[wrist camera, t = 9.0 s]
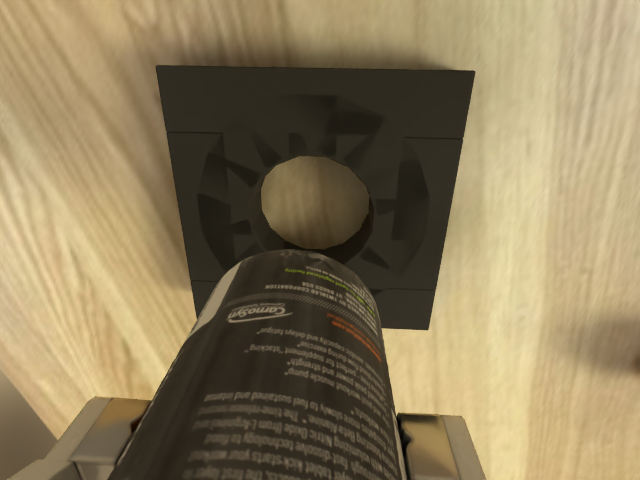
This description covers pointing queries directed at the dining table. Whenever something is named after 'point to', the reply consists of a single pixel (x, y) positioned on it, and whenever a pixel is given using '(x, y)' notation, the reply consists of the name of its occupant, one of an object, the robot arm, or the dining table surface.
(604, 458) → the dining table surface
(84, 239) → the dining table surface
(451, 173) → the socket pad
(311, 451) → the pill bottle
